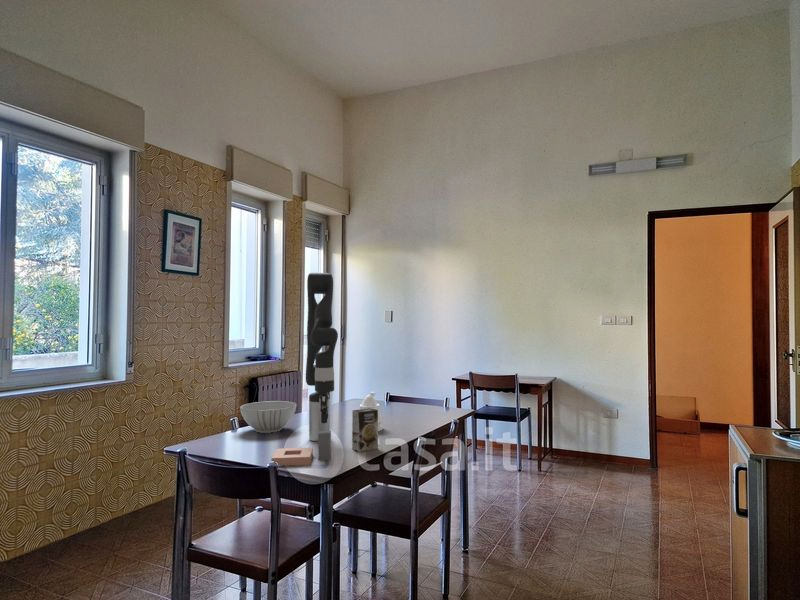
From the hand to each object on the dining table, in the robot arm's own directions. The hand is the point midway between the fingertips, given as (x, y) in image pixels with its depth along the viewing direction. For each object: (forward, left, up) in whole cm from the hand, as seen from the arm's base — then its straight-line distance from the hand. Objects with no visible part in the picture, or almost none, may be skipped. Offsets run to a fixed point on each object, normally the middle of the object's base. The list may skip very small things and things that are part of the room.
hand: (324, 420), depth 200 cm
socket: (+2, -12, -14) cm, 19 cm away
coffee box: (-12, +16, -15) cm, 25 cm away
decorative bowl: (-54, -30, -15) cm, 64 cm away
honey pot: (-50, +19, -15) cm, 56 cm away
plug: (0, 0, -14) cm, 14 cm away
